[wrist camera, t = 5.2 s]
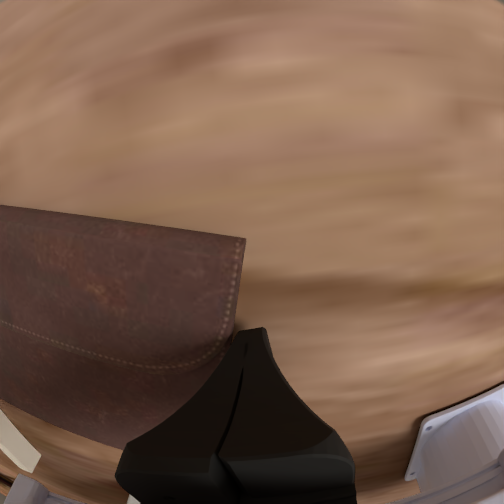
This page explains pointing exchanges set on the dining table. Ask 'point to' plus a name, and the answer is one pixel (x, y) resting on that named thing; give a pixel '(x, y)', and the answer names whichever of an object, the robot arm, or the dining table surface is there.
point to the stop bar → (17, 445)
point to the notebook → (110, 318)
